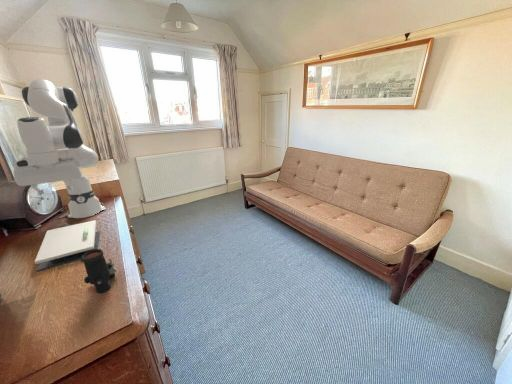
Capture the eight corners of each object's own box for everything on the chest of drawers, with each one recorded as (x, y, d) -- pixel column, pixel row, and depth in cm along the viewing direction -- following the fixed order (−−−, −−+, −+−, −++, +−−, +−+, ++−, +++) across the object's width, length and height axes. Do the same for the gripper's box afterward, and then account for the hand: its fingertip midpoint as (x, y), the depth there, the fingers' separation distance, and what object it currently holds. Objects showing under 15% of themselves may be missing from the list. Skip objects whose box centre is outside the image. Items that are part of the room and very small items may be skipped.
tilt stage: (48, 232, 97) (45, 227, 96) (96, 222, 106) (94, 217, 105) (35, 264, 80) (32, 258, 79) (93, 248, 89) (92, 243, 88)
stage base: (51, 244, 99) (48, 236, 98) (100, 232, 109) (98, 224, 107) (36, 272, 81) (32, 263, 79) (97, 255, 90) (94, 246, 89)
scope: (108, 241, 74) (108, 255, 66) (117, 273, 79) (118, 290, 71) (78, 249, 70) (74, 265, 62) (90, 282, 75) (88, 302, 67)
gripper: (78, 155, 94) (87, 185, 98) (13, 161, 84) (26, 195, 88) (76, 157, 88) (85, 189, 93) (6, 163, 78) (20, 199, 83)
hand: (56, 192), depth 90 cm, fingers open, 8 cm apart
